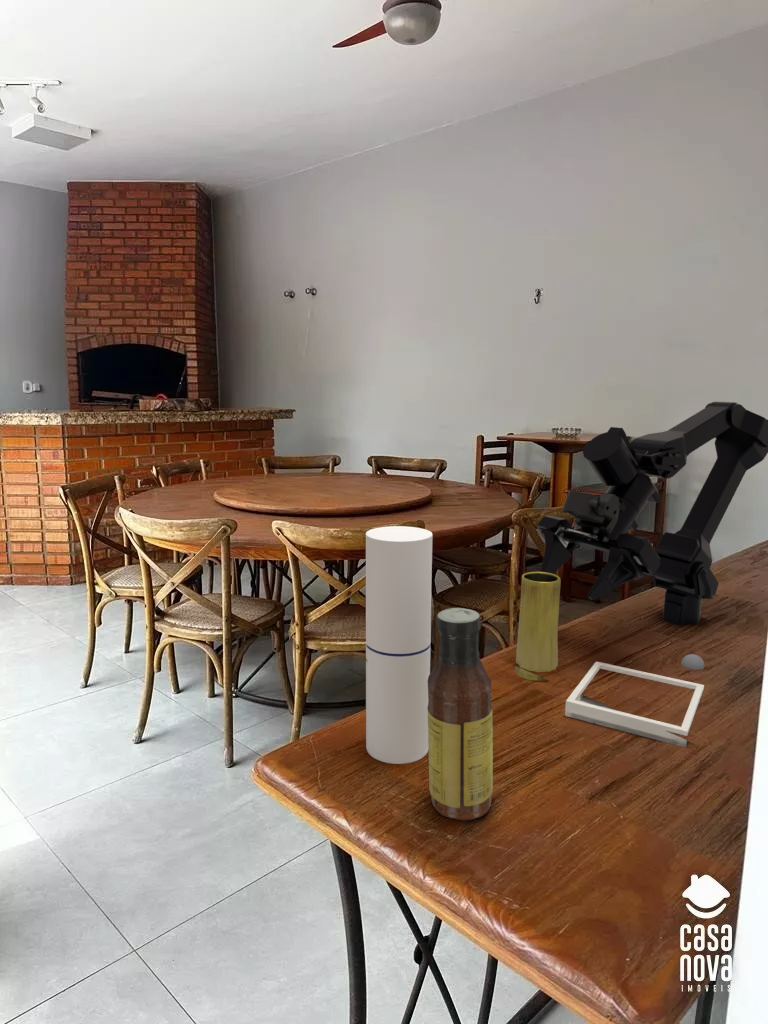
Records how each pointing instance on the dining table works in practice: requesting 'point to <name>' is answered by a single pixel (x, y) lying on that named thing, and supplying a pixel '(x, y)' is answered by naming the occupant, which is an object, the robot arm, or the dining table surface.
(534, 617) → the vase
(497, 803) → the dining table surface
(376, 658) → the cylindrical container
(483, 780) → the sauce bottle
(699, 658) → the mixing ball
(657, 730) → the tray
